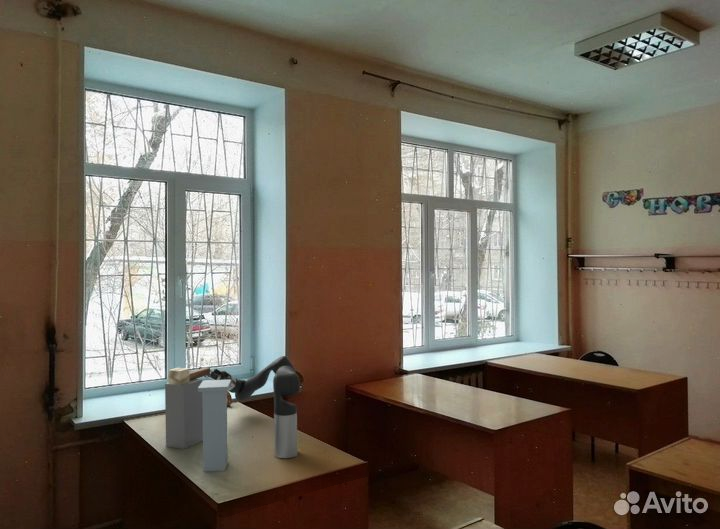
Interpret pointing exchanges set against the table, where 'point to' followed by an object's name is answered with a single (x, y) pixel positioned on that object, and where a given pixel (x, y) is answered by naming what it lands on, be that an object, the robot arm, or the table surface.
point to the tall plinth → (214, 424)
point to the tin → (229, 398)
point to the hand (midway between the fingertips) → (206, 369)
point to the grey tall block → (183, 414)
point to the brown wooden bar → (186, 375)
